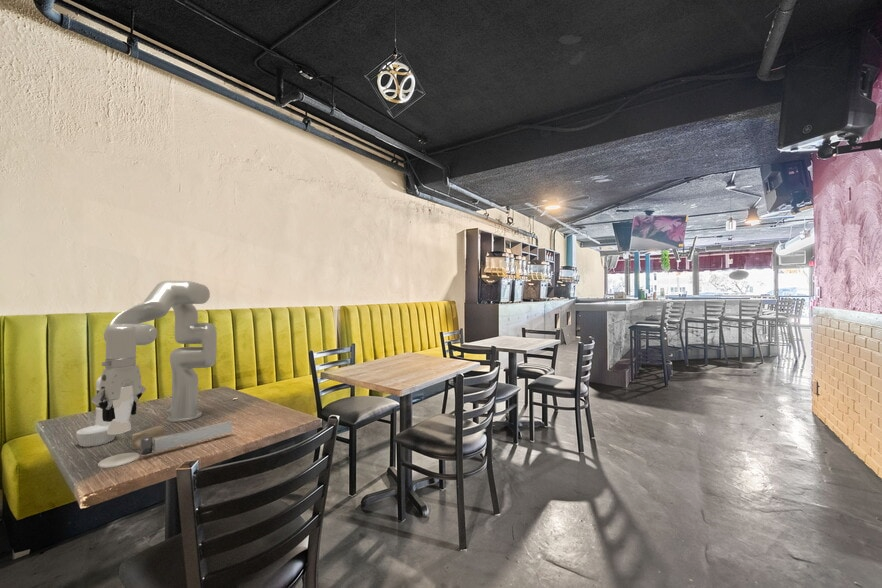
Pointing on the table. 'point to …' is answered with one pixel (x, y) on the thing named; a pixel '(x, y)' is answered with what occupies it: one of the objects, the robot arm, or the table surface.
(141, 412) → the table surface
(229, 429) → the bar
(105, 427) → the ramekin
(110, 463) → the white disc
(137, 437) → the block
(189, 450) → the table surface
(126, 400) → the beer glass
